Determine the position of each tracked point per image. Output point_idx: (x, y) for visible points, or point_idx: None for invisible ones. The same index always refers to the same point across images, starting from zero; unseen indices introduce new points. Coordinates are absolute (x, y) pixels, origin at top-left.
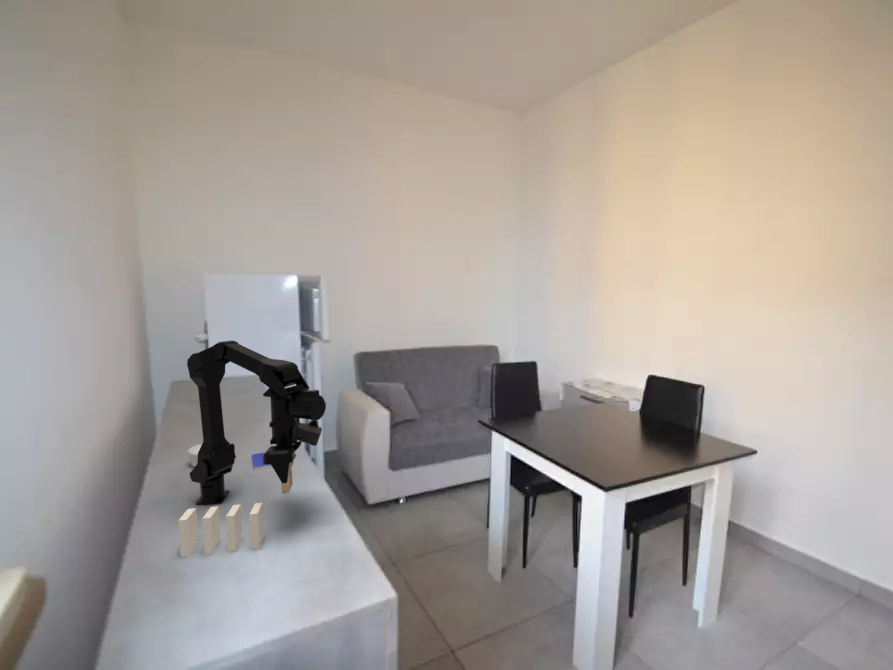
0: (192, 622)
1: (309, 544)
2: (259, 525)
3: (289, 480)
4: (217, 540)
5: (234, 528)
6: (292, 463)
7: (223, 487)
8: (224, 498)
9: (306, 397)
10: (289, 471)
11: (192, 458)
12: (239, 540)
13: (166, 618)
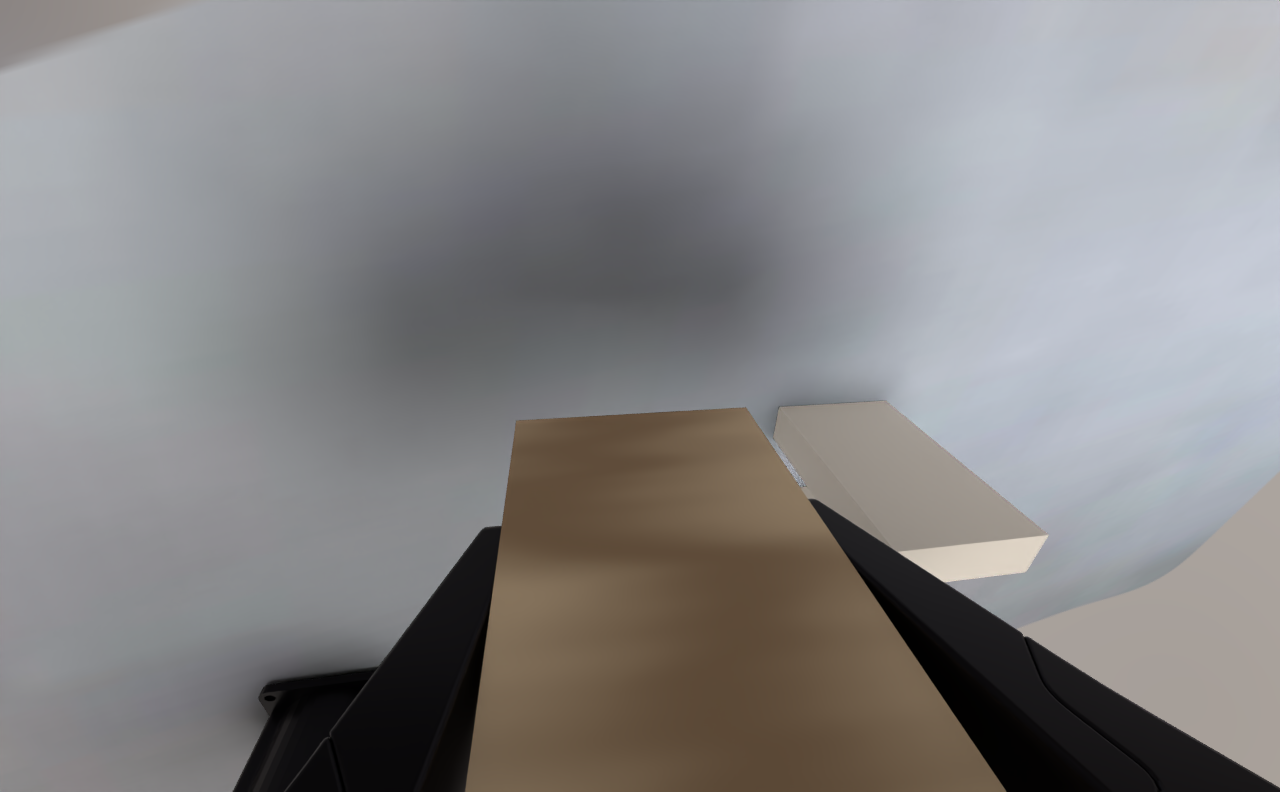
0: (1179, 471)
1: (981, 127)
2: (928, 467)
3: (716, 482)
4: None
5: None
6: (452, 652)
7: (314, 743)
8: (357, 678)
9: None
10: (732, 583)
11: None
12: (814, 498)
13: (1109, 534)
